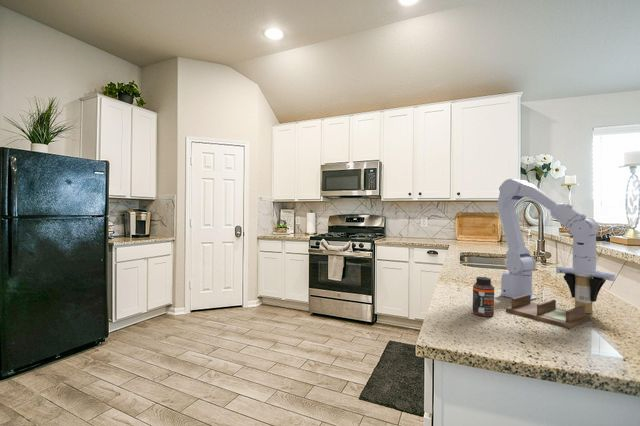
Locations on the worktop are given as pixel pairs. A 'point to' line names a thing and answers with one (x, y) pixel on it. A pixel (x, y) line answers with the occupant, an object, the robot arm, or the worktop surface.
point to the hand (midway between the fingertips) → (583, 299)
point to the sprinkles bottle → (583, 292)
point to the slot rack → (548, 312)
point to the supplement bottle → (483, 297)
